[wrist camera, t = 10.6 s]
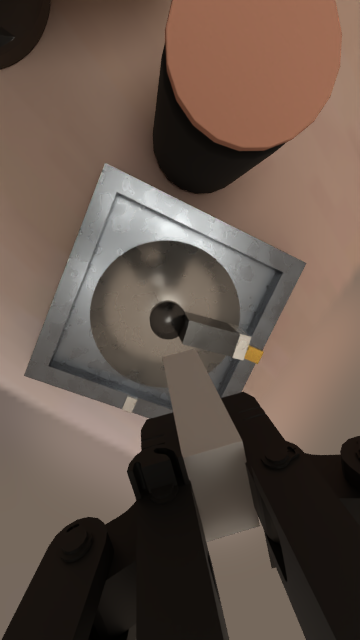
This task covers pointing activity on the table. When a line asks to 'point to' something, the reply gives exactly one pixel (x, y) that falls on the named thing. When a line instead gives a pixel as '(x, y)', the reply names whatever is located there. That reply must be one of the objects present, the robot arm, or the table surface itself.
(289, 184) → the table surface
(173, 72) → the coffee jar
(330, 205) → the table surface
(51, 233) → the table surface
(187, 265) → the dial
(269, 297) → the grey square tray
